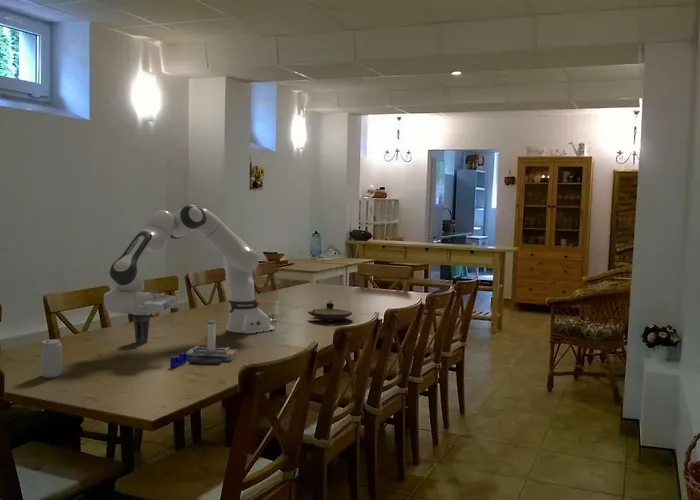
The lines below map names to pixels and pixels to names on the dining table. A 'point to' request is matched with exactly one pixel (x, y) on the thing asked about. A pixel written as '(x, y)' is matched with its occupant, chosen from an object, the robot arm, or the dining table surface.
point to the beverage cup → (141, 327)
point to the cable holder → (177, 360)
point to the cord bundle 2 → (205, 361)
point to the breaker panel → (211, 353)
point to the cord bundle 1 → (218, 347)
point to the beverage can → (51, 358)
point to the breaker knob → (211, 335)
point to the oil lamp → (330, 313)
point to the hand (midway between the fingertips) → (180, 304)
